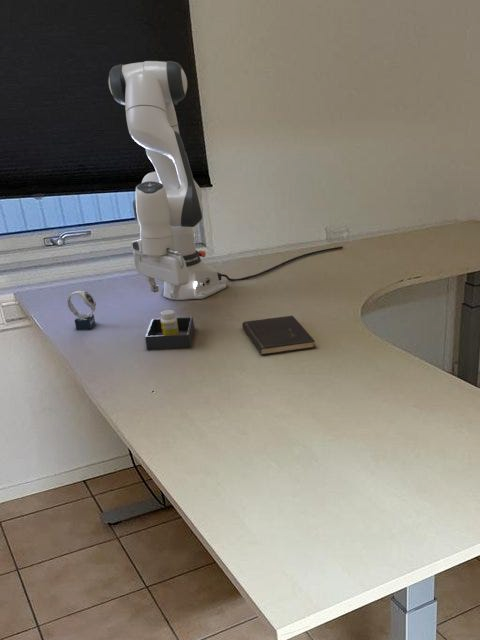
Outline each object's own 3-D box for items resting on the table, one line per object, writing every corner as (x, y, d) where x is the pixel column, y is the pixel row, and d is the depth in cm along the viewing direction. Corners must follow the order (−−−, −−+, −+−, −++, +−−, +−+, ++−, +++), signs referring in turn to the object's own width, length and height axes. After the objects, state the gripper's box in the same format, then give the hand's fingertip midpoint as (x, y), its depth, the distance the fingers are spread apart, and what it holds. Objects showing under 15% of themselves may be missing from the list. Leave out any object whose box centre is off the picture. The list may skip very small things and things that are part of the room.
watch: (97, 329, 228) (90, 294, 223) (70, 330, 228) (63, 294, 222) (101, 323, 233) (95, 288, 227) (75, 323, 233) (68, 289, 227)
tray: (153, 331, 227) (151, 318, 225) (194, 329, 228) (192, 317, 226) (147, 350, 214) (145, 336, 212) (190, 348, 215) (188, 334, 213)
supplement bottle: (164, 336, 223) (160, 309, 218) (180, 336, 223) (176, 308, 219) (162, 342, 219) (158, 315, 214) (178, 342, 219) (174, 314, 214)
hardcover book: (293, 322, 232) (292, 315, 231) (315, 348, 214) (314, 340, 213) (242, 329, 228) (241, 321, 227) (260, 356, 209) (260, 348, 208)
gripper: (190, 249, 203) (196, 299, 210) (145, 237, 214) (152, 285, 221) (172, 254, 199) (178, 305, 206) (127, 242, 210) (134, 290, 217)
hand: (164, 294), depth 214 cm, fingers open, 8 cm apart
